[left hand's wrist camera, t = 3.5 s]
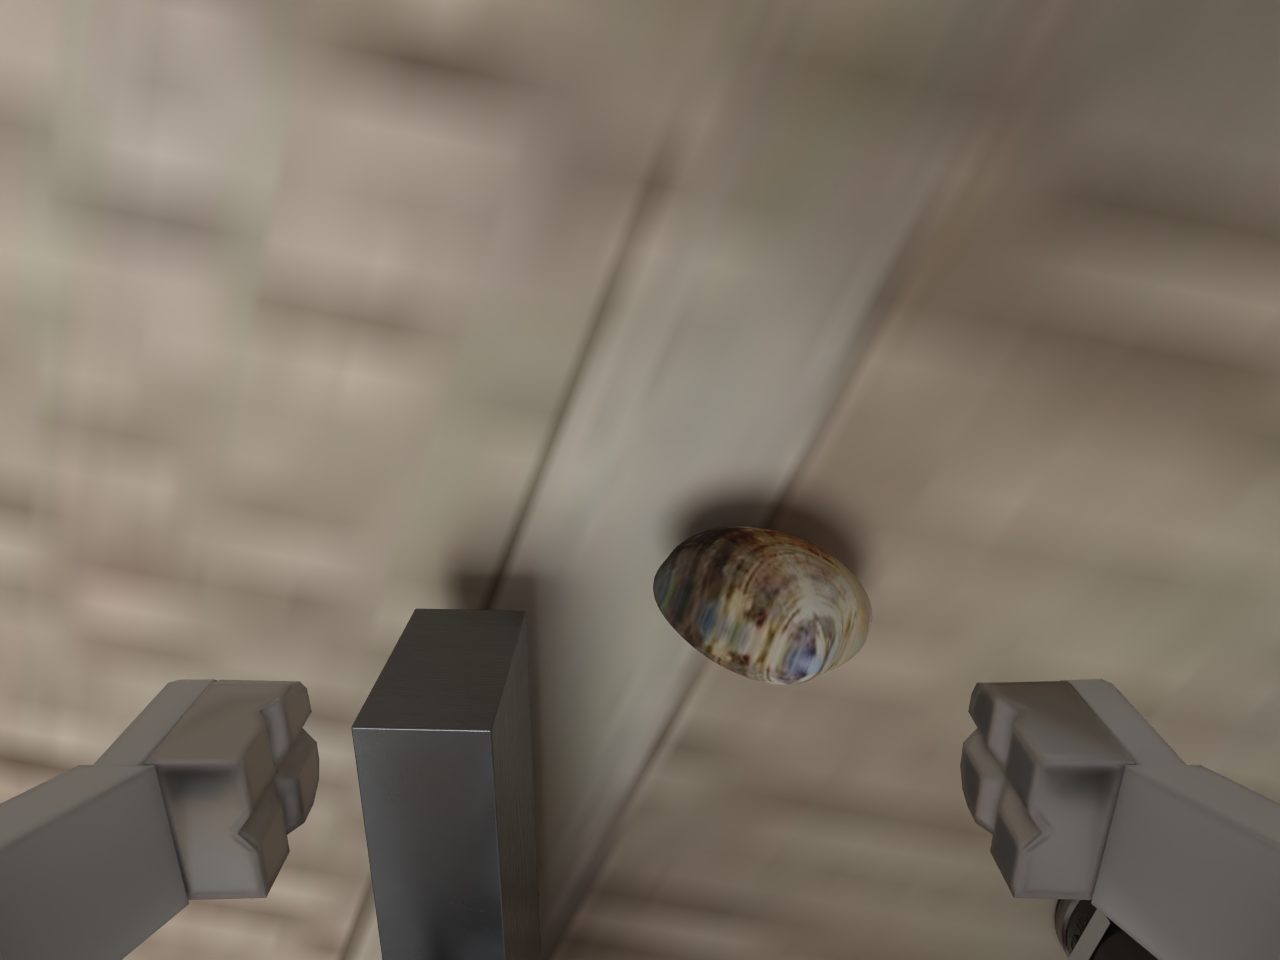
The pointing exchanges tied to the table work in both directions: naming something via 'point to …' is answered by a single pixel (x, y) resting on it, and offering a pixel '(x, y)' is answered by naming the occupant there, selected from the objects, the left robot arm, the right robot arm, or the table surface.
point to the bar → (452, 790)
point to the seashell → (763, 603)
